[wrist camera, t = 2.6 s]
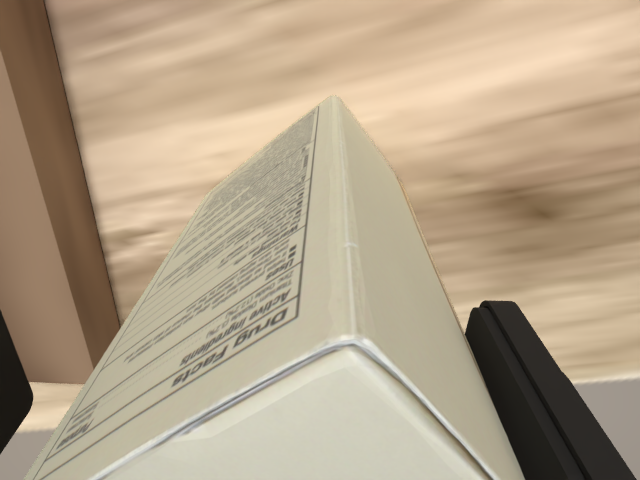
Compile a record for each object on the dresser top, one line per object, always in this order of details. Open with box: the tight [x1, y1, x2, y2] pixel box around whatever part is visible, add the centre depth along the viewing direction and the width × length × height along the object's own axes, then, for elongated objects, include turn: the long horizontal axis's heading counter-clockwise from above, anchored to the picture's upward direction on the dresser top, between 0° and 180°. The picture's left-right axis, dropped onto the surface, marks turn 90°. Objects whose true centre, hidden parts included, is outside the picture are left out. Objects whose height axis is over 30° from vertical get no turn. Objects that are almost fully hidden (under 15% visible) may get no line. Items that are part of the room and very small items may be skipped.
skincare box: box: [24, 95, 525, 480], centre depth 11 cm, size 6×4×12 cm
